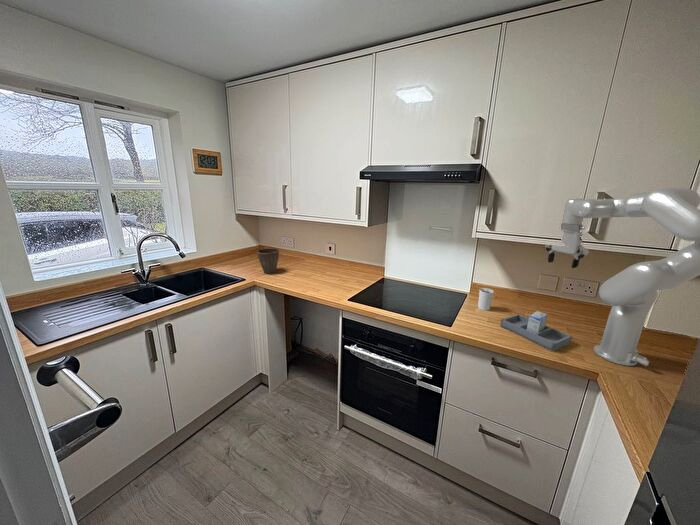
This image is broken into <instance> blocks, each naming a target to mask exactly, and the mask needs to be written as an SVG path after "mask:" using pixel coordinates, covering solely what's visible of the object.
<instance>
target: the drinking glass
mask: <svg viewBox="0 0 700 525" xmlns="http://www.w3.org/2000/svg"><path fill="white" fill-rule="evenodd" d="M478 293H479V294H478V304H477V308H478V309H479V310H482V311H490V310H491V305H492V301H493V297H494V290H493V289H491V288H486V287H485V288H483V287H482V288H479V292H478Z"/></svg>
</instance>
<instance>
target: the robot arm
mask: <svg viewBox="0 0 700 525" xmlns="http://www.w3.org/2000/svg"><path fill="white" fill-rule="evenodd" d="M566 200H567V199H566ZM566 200H565V202H566V204H565V203H564V206H565V209H564V208H563V211H564V214H563V213H562V215H563V219H562V218H561V220H562V224H561V223H560V224H561V231H563V232H564V234H563V238H562V239H561V241H562V242H563V243H564V244H565V246H556V245H552V244H551V245H545V244H544V247H545V249H546V251H547V253H548V258H547V262H548V263H549V264H550V263H553V262H554V259H555V256H556V254H555V252H559V253H563V254H567V255H568V254H569V255H572V257H573V258H574V259H572V263H571V268H572V269H575V268H578V266H579V265H580V264H579V263H580V260H581V259H583V258H585V257H586V256H587V255H589V253H590V250H589V249H587V248H586V247H584V246H583V243H582V239H581V237H580V236H582V235H583V236H584V233H583V234H582V232H583V231H582V230H585V229H586V226H584V224H583V225H582V222H584V219H605V218H606V219H607V218H611V219H612V218H632V219H633V218H650V219H652V220H653V221H654V222H656V223H657V224H659V225H660V227H663V228H664V229H665V230H666V231H668V232H670V233H671V234H672V235H673V236H674V237H676V238H678V239H680V240H683V241H687V242H694V243H691V244H689V245H687V246H684V247H683V248H681V249H678V250H677V251H675V252H674V253H672V254H670V255H668V256H666V257H665V258H662V259H658V260H649V261H641V262H637V263H634V264H632V265H630V266H628V267H627V268H625V269H623V270H622V271H620V272H618V273H617V274H615V275H614V276H612V277H610V278H608V279H607V280H605V281H604V282H603V283H602V284H601V285H600V287H599V290H598V296H599V297H600V299H601V301H603V302H604V303H605V304H607V305H609V306H611V309H610V311H609V314H608V317H607V321H606V325H605V328H604V331H603V334H602V338H601V341H600V344H596V345H594V346H593V351H594V353H595V354H596V355H597V356H599V357H601V358H602V359H603V360H604V359H605V360H606V361H608V362H611V363H614V364H618V365H621V366H628V367H629V366H637V364H638V363H639V364H641V365H642V366H645V367H648V366H649V364H650V360H648V357H645V356H642V355H639V353H638V352H639V350H638V349H637V346H638V344H639V341H640V338H641V334H642V331H643V328H644V326H645V323H646V321H647V317H648V315H649V313H650V310H651V309H652V307H653V306H654V304H655V302H656V300H657V298H658V294H659V293H658V291H662V290H663V291H665V290H671V289H674V288H677V287H679V286H681V285H683V284H685V283H687V282H688V281H691V280H692V279H694V278H696V277H698V276H700V209H699V208H698V207H699V206H700V195H699V193H698V192H697V191H696V190H693V189H690V188H686V187H684V188H683V187H666V188H665V187H664V188H657V189H654V190H651V191H645V192H635V193H632V194H629V196H627V197H618V198H617V197H616V198H596V199H595V198H593V199H592V198H591V199H590V198H588V199H587V198H586V199H585V198H576V199H571V198H568V200H567V201H566ZM583 218H584V219H583ZM580 230H581V231H582V232H580ZM581 243H582V245H580V244H581ZM567 246H569V247H567ZM581 252H582V253H581ZM580 253H581V254H580Z"/></svg>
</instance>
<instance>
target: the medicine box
mask: <svg viewBox="0 0 700 525" xmlns="http://www.w3.org/2000/svg"><path fill="white" fill-rule="evenodd" d="M528 318H529V321H528V325H527V330H528V331H530V332H532V333H534V334H536V333H538V332H541V331H543V330H544V328H545V325H546V324H547V318H548V314H547V313H545V312H541V311H538V310H536V311H534V312H533V313H532V314H530V315H529V316H528Z"/></svg>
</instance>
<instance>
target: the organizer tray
mask: <svg viewBox="0 0 700 525" xmlns="http://www.w3.org/2000/svg"><path fill="white" fill-rule="evenodd" d="M528 321H529V317H526V316H525V315H523V314H522V315H521V314H519V313H516V314H513V315H511V316H508V317H504V318H502V319H501V320H500V324H499V325H500V327H501V328H502V329H505V330H507V331H509V332H511V333H513V332H514V333H513V334H515V333H516V334H515V335H517V334H518V336H519V335H520V337H521V336H522V338H523V337H524V339H526V340H528V341H530V342H532V343H534V344H536V345H538V346H540V347H542V348H544V349H547V350H548V349H549V351H551V352H555V351H557V350H559V349H562V348H563V347H566V346H568V345H570V344H571V341H572V337H573V336H572V335H570V334H567V333H565V332H563V331H560V330H558V329H555V328H554V327H551V326H548V325H546V324H545V328H544V330H543V331H541V332H538V333H536V334H534V333H532V332H530V331H528V330H527V325H528Z"/></svg>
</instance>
